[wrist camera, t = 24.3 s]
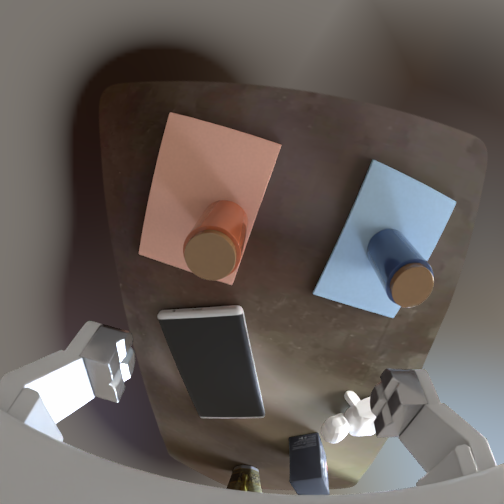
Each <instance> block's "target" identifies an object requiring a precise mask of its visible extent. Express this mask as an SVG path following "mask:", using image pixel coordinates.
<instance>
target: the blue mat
mask: <svg viewBox="0 0 504 504" xmlns="http://www.w3.org/2000/svg"><path fill="white" fill-rule="evenodd" d="M455 204H456V201H454V200H452V199H451V198H449V197H447V196H445V195H444V194H442V193H440V192H438V191H436V190H434V189H432V188H431V187H429V186H427V185H425V184H423V183H421V182H419V181H417V180H415V179H413V178H411V177H409V176H407V175H405V174H403V173H401V172H399V171H397V170H395V169H393V168H391V167H389V166H387V165H384V164H382V163H380V162H378V161H376V160H373V159H372V161H371V164H370V166H369V169H368V171H367V174H366V176H365V179H364V181H363V183H362V186H361V188H360V190H359V193H358V195H357V198H356V200H355V202H354V204H353V207H352V209H351V211H350V214H349V216H348V218H347V220H346V223H345V225H344V227H343V229H342V232H341V234H340V236H339V238H338V240H337V242H336V245H335V247H334V249H333V251H332V253H331V255H330V257H329V260H328V262H327V264H326V266H325V268H324V270H323V272H322V274H321V276H320V278H319V280H318V282H317V284H316V287H315V289H314V291H313V294H314V295H317V296H321V297H324V298H327V299H330V300H334V301H337V302H340V303H344V304H347V305H350V306H354V307H357V308H360V309H364V310H367V311H370V312H374V313H377V314H381V315H384V316H387V317H391V318H394V316H395V315H396V313H397V312H398V310H399V309H400V307H401V306H399V305H398V304H395V303H393V302H392V301H391V300H390V299H389V298H388V296H387V294H386V292H385V290H384V288H383V286H382V284H381V283H380V281H379V279H378V277H377V275H376V273H375V271H374V269H373V268H372V266H371V264H370V262H369V260H368V258H367V246H368V243H369V241H370V240H371V238H372V237H373V236H374V235H375V234H376V233H378V232H379V231H381V230H384V229H395V230H398V231H400V232H401V233H402V234H403V235H404V236H405V237H406V238H407V239H408V240H409V242H410V243H411V244H412V245H413V246H414V247H415V248H416V250H417V251H418V252H419V253H420V254H421V255H422V257H423V258H424V259H425V260H426V261H428V259H429V257H430V255H431V253H432V251H433V249H434V248H435V246H436V244H437V242H438V240H439V238H440V236H441V234H442V232H443V230H444V228H445V226H446V224H447V222H448V220H449V217H450V215H451V213H452V211H453V209H454V207H455Z"/></svg>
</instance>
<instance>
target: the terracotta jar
mask: <svg viewBox="0 0 504 504" xmlns="http://www.w3.org/2000/svg"><path fill="white" fill-rule="evenodd" d="M247 230H248V218H247V215H246V213H245V211H244V210H243V209H242V207H240V206H239V205H238V204H236V203H235V202H232V201H228V200H219V201H216V202H213V203H211V204H210V205H209V206H208V207H207V208H206V209H205V210H204V212H203V213H202V215H201V216H200V218H199V219H198V221H197V222H196V224H195V225H194V227H193V228H192V230H191V231H190V233H189V234H188V236H187V237H186V239H185V241H184V245H183V255H184V258H185V262H186V264H187V266H188V268H189V269H190V270H191V271H192V272H193V273H194V274H195V275H196V276H198V277H200V278H202V279H205V280H219V279H222V278H224V277H226V276H228V275H230V274H232V273H233V272H234V271H235V270H236V269H237V267H238V265H239V263H240V260H241V256H242V251H243V247H244V243H245V238H246V234H247Z"/></svg>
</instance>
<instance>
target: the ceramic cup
mask: <svg viewBox="0 0 504 504" xmlns="http://www.w3.org/2000/svg"><path fill="white" fill-rule="evenodd" d="M226 489H232V490H240V491H249V492H259V493H262V490H261V486H260V479H259V471H258V469H257V468H255V467H253V466H248V465H240V466H237V467H235V468H234V470H233V472H232V475H231V478H230V481H229V484H228V486H227V488H226Z"/></svg>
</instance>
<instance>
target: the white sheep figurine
mask: <svg viewBox="0 0 504 504" xmlns="http://www.w3.org/2000/svg"><path fill="white" fill-rule="evenodd" d="M344 398H345V400H346V401H347V402H348V404H349V405H350V406H351V407H349V408H348V409H347V410H346V412H345V414H343V413H339V414H337V415H336V416H331V417H329V418H328V419H327V420H326V421H325V422H324V423H323V425H322V427H321V435H322V436H323V438H324V440H325V441H327V442H330V443H337V442H339V441H341V440H342V439H343V438H344V437H345V436H346V435H347V433H349V434H350V435H352V436H360V437H361V436H370V435H373V434H374V433H375V432H376V431H375V426H374V420H375V419H376V416H375V415H374V414H373V413H372V412H371V408H370V397H368V398H365V399H363V400H360V399H359V397H358V396H357V395H356V393H354V392H353V391H346V393H345V395H344Z"/></svg>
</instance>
